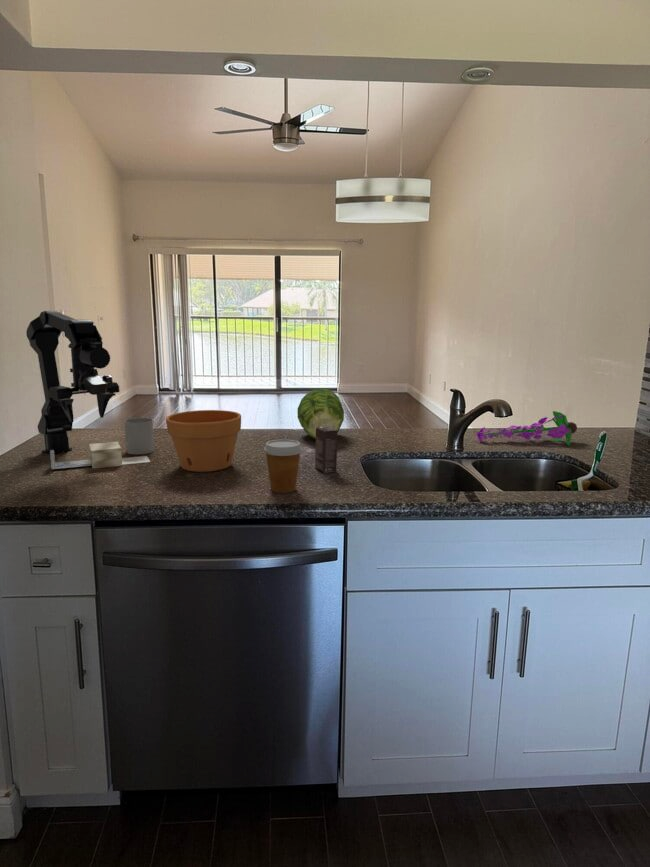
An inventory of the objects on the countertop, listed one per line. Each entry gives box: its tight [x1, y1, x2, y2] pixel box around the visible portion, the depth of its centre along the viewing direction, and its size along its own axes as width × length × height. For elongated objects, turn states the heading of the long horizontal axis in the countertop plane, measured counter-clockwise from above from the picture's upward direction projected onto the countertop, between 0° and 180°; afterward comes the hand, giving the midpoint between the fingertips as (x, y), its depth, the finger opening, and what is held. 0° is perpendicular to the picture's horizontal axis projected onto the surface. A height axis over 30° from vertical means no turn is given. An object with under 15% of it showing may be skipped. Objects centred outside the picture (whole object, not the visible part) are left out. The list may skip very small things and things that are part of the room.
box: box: [314, 427, 339, 474], centre depth 165 cm, size 6×4×12 cm
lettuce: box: [297, 388, 345, 440], centre depth 204 cm, size 17×23×16 cm
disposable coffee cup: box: [263, 439, 303, 494], centre depth 147 cm, size 10×10×12 cm
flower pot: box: [165, 409, 242, 473], centre depth 168 cm, size 21×21×15 cm
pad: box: [122, 455, 151, 466], centre depth 174 cm, size 8×7×1 cm
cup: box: [124, 417, 155, 455], centre depth 184 cm, size 8×8×10 cm
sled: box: [49, 450, 92, 470], centre depth 168 cm, size 18×5×4 cm, turn 115°
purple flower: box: [475, 410, 578, 447], centre depth 203 cm, size 12×16×35 cm
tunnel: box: [88, 441, 123, 469], centre depth 170 cm, size 8×9×5 cm
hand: (87, 419), depth 167 cm, fingers open, 9 cm apart
